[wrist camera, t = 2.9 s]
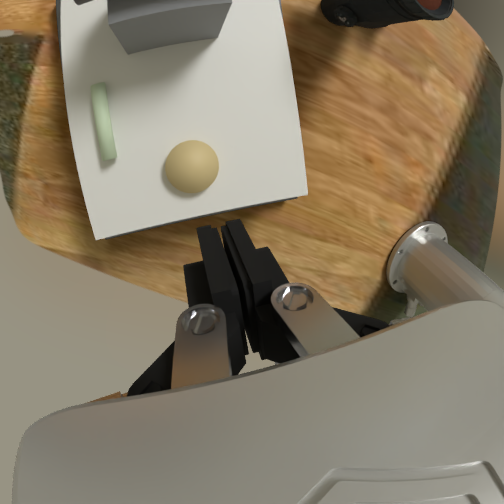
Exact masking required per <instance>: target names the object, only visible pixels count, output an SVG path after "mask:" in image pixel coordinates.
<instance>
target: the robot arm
mask: <svg viewBox="0 0 504 504" xmlns="http://www.w3.org/2000/svg"><path fill="white" fill-rule="evenodd" d="M221 232H222V238H223V244H224V247H223V244H222V241H221V238H220V236H219V233H218V230H217V227H216V228H211V225H208V226H203V227H198V228H197V233H198V238H199V243H200V248H201V252H202V257H203V261H200V262H195V263H191V264H186V265H183V266H184V275H185V283H186V290H187V297H188V304H189V308H188V309H187V310H185V311H184V312H183V313H182V314H181V315H180V316H179V318H178V321H177V326H176V335H175V341H174V342H173V343H172V344H171V345H170V346H169V347H168V348H167V349H166V350H165V351H164V352H163V353H162V354H161V356H159V358H157V360H156V361H155V362H154V363H153V364H152V365H151V366H150V367H149V368H148V369H147V370H146V371H145V372H144V373H143V374H142V375H141V376H140V377H139V378H138V379H137V380H136V381H135V382H134V383H133V385H132V386H131V387H130V389H129V391H128V392H127V393H125V394H121V393H120V392H117V393H114V394H111V395H108V396H105V397H102V398H99V399H96V400H93V401H90V402H87V403H84V404H81V405H76V406H71V407H68V408H65V409H62V410H59V411H56V412H54V413H51V414H49V415H47V416H45V417H43V418H41V419H39V420H38V421H36V422H35V423H34V424H32V425H31V426H30V427H29V428H28V429H27V430H26V431H25V433H24V435H23V437H22V439H21V442H20V444H19V448H18V451H17V456H16V461H15V467H14V475H13V488H12V504H504V291H503V290H502V289H501V288H500V287H499V286H498V285H497V284H496V283H494V282H493V281H492V280H491V279H490V278H489V277H487V276H486V275H485V274H484V273H483V272H482V271H481V270H479V269H478V268H477V267H476V266H475V265H474V264H472V263H471V262H470V261H469V260H468V259H466V258H465V257H464V256H463V255H461V254H460V253H459V252H458V251H456V250H455V249H454V248H453V247H451V246H450V245H449V244H448V243H447V235H446V232H445V230H444V229H443V228H442V227H441V226H440V225H439V224H437V223H435V222H431V221H427V222H422V223H420V224H418V225H416V226H414V227H413V228H411V229H410V230H409V231H408V232H406V233H405V234H404V235H403V237H402V238H401V239H400V240H399V241H398V243H397V244H396V246H395V247H394V249H393V251H392V253H391V255H390V258H389V260H388V264H387V271H386V275H387V280H388V283H389V284H390V286H391V287H392V288H393V289H394V290H395V291H397V292H401V293H406V294H407V300H408V302H407V304H406V307H405V311H404V313H405V315H407V316H410V317H408V318H403V319H397V320H391V322H390V324H387V323H385V322H383V321H381V320H378V319H374V318H371V317H367V316H363V315H359V314H356V313H352V312H348V311H344V310H341V309H337V308H333V307H331V306H330V305H329V304H328V303H327V302H326V301H325V299H324V298H323V297H322V296H321V295H320V294H319V293H318V292H317V291H316V290H315V289H314V288H312V287H311V286H309V285H306V284H303V283H289V281H288V280H287V278H286V276H285V275H284V273H283V271H282V269H281V268H280V266H279V264H278V263H277V261H276V259H275V258H274V256H273V254H272V253H271V251H270V249H269V248H268V247H264V248H259V249H255V247H254V245H253V243H252V241H251V239H250V237H249V235H248V233H247V231H246V229H245V228H244V226H243V224H242V222H241V220H240V219H237V220H232V221H227V222H226V226H221ZM417 303H418V304H419V305H421V306H423V307H424V308H425V309H426V310H427V311H428V312H425V313H423V314H420V315H418V316H414V317H411V316H413V315H414V314H415V311H416V308H417ZM245 331H246V334H247V337H248V340H249V343H250V346H251V348H252V351H253V353H255V352H259V354H260V357H261V359H262V360H264V359H268V360H271V361H274V362H275V365H273V366H270V367H266V368H263V369H259V370H255V371H251V372H247V373H243V374H240V375H238V373H239V372H240V370H241V369H242V368H243V366H244V365H245V364H246V359H245V355H248V354H249V352H248V346H247V340H246V334H245Z"/></svg>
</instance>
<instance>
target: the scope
mask: <svg viewBox="0 0 504 504" xmlns="http://www.w3.org/2000/svg"><path fill="white" fill-rule="evenodd" d="M453 8H454V0H322V1H321V10H322V12H323V14H324V16H325V17H326V18H327V19H328V20H329V21H330V22H332V23H334V24H336V25H341V26H344V25H345V26H347V27H351V26H352V27H353V26H354V25H356V26H361V27H365V28H371V29H372V28H379V27H386V26H388V25H390V24H395V23H402V22H409V21H416V20H423V19H425V20H444V19H445V18H448V17H449V16H450V15H451V13H452V11H453Z"/></svg>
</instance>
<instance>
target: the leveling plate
mask: <svg viewBox="0 0 504 504" xmlns="http://www.w3.org/2000/svg"><path fill="white" fill-rule="evenodd" d="M61 53H62V68H63V80H64V90H65V98H66V106H67V114H68V120H69V127H70V133H71V139H72V145H73V150H74V155H75V160H76V165H77V170H78V174H79V179H80V183H81V187H82V192H83V196H84V200H85V204H86V207H87V211H88V215H89V218H90V222H91V226H92V229H93V233H94V236H95V239H96V240H99V239H103V238H106V237H110V236H114V235H118V234H122V233H127V232H131V231H135V230H139V229H143V228H147V227H152V226H156V225H160V224H165V223H169V222H173V221H178V220H182V219H187V218H191V217H196V216H201V215H205V214H210V213H215V212H220V211H225V210H229V209H234V208H239V207H244V206H249V205H255V204H260V203H265V202H270V201H276V200H281V199H287V198H292V197H298V196H303V195H308V190H307V180H306V171H305V162H304V153H303V145H302V137H301V129H300V122H299V115H298V107H297V101H296V94H295V87H294V81H293V75H292V68H291V62H290V57H289V51H288V45H287V40H286V34H285V29H284V24H283V19H282V14H281V9H280V4H279V0H61Z"/></svg>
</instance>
